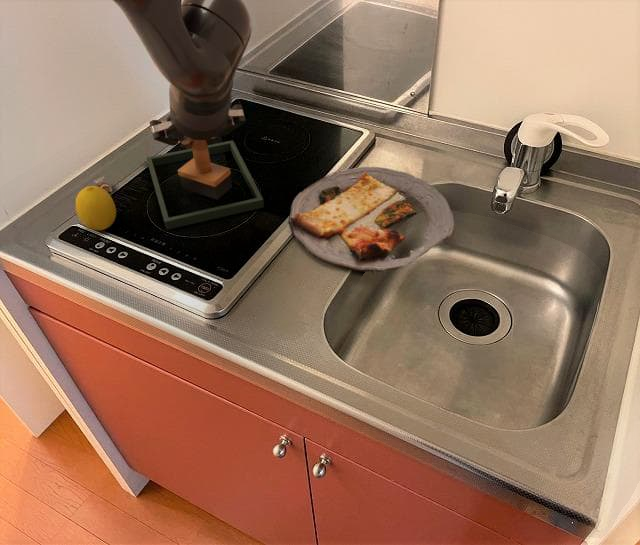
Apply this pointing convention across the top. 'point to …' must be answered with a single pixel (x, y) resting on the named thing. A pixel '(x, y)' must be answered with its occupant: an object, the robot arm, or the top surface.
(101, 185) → the pale curved piece
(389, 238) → the food plate
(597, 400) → the top surface
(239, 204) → the green rectangular frame
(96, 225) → the lemon
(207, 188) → the brush
